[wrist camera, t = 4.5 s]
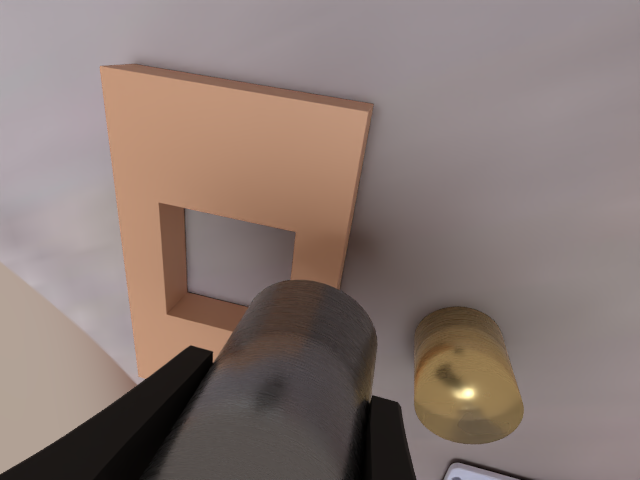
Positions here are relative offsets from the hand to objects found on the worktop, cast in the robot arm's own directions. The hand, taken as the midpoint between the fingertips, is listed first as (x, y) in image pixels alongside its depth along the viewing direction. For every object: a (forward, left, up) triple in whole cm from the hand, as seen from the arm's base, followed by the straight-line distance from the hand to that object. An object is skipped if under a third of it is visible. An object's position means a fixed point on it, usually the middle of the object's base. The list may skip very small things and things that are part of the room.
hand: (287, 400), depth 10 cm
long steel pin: (0, 0, -2) cm, 2 cm away
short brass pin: (-4, -6, -9) cm, 12 cm away
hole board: (-2, +5, -9) cm, 10 cm away
